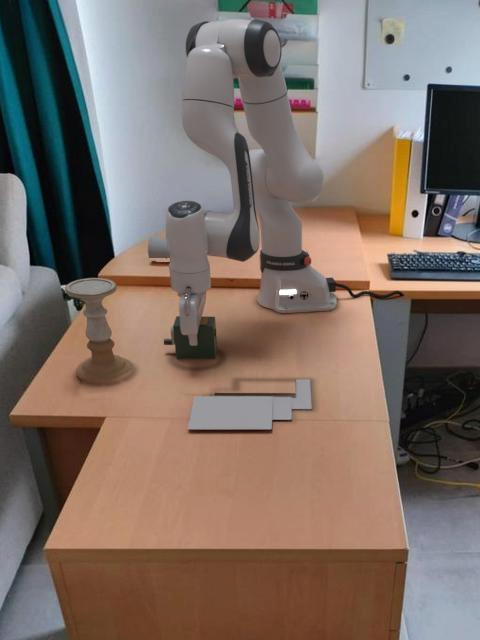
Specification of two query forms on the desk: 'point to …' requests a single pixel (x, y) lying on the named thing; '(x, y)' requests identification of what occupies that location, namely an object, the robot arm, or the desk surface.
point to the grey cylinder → (157, 248)
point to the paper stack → (248, 408)
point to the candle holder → (97, 330)
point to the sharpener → (205, 340)
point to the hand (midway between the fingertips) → (195, 337)
